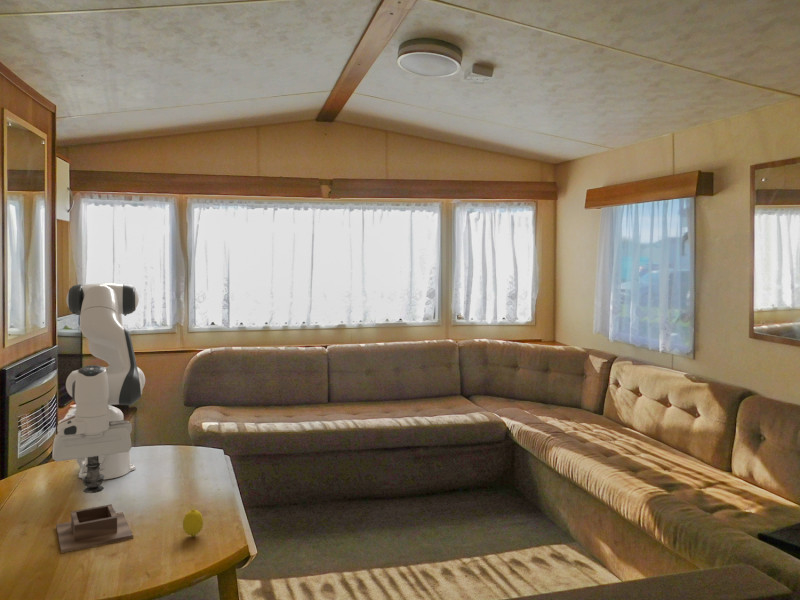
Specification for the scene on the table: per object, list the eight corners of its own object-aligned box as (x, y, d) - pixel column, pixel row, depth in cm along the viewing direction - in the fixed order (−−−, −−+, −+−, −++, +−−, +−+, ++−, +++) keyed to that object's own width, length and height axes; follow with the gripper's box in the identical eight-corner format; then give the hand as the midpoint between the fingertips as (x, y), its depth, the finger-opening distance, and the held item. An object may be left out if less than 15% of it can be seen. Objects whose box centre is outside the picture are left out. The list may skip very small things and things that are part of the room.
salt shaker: (95, 494, 177) (94, 452, 176) (77, 492, 178) (76, 450, 177) (109, 487, 183) (108, 446, 182) (91, 485, 184) (91, 444, 183)
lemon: (185, 532, 183) (185, 505, 183) (205, 532, 184) (205, 505, 183) (180, 541, 178) (180, 513, 177) (200, 540, 178) (200, 513, 178)
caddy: (56, 527, 184) (56, 509, 184) (122, 515, 194) (122, 497, 194) (61, 553, 169) (60, 533, 169) (132, 538, 179) (132, 519, 178)
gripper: (129, 416, 187) (130, 462, 188) (51, 425, 176) (52, 473, 177) (133, 421, 182) (134, 468, 183) (52, 431, 171) (53, 480, 172)
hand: (93, 471), depth 180 cm, fingers closed on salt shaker, 3 cm apart
